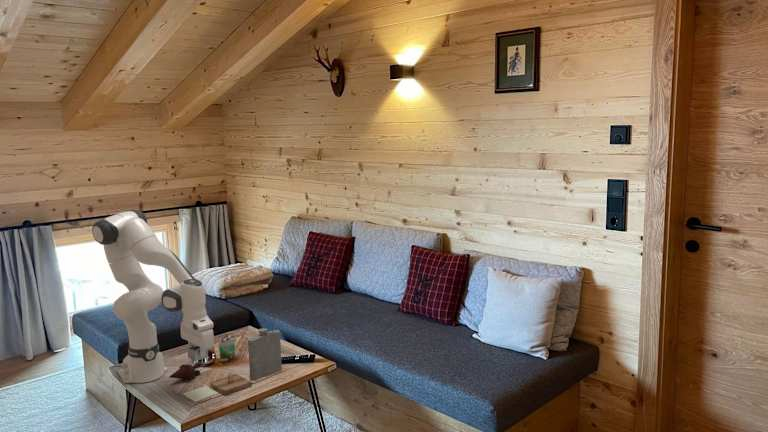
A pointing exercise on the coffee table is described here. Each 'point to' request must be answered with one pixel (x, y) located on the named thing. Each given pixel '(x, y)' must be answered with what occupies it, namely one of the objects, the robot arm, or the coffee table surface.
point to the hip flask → (264, 354)
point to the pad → (200, 393)
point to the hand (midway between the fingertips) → (197, 353)
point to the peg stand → (230, 384)
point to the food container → (227, 348)
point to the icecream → (186, 371)
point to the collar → (196, 353)
